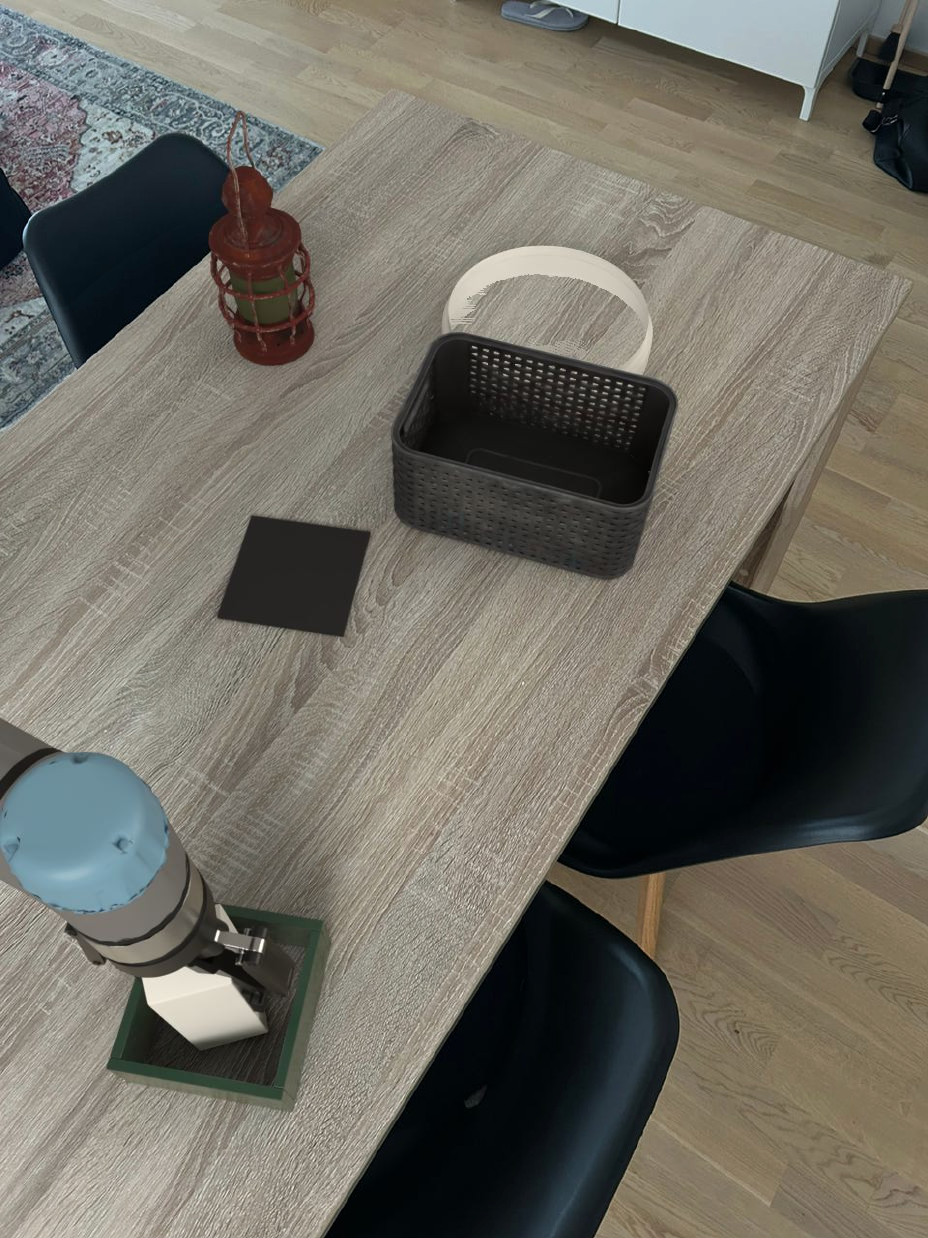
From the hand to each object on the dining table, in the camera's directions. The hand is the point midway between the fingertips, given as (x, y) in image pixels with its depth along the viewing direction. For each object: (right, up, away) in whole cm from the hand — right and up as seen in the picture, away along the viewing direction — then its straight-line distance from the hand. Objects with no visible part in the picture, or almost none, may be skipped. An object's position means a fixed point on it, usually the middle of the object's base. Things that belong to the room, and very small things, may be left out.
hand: (212, 986), depth 84 cm
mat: (+2, +35, +32) cm, 47 cm away
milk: (0, -4, +7) cm, 8 cm away
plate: (+31, +66, +52) cm, 89 cm away
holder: (0, -5, +7) cm, 9 cm away
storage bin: (+28, +44, +39) cm, 65 cm away
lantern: (-4, +66, +52) cm, 84 cm away
